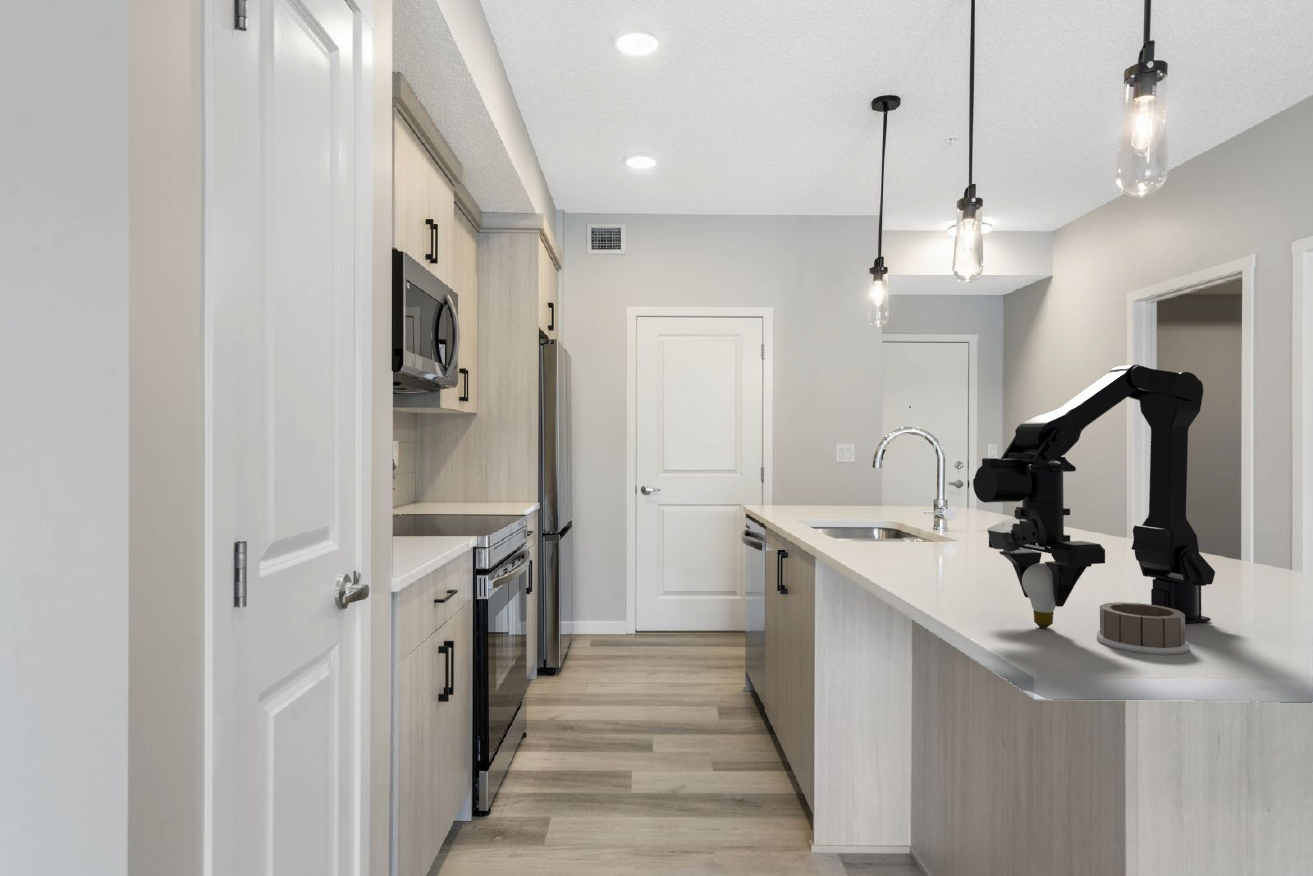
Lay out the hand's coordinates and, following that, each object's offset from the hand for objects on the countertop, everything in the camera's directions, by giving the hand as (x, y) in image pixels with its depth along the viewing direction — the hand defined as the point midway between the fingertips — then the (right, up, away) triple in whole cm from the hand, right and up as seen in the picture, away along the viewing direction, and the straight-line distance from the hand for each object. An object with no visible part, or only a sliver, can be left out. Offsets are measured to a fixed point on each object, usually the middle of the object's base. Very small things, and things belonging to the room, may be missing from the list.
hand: (1043, 601), depth 116 cm
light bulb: (0, -4, 0) cm, 4 cm away
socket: (+9, -4, -9) cm, 14 cm away
